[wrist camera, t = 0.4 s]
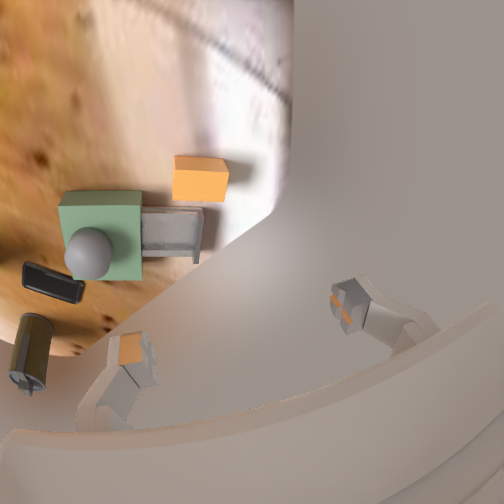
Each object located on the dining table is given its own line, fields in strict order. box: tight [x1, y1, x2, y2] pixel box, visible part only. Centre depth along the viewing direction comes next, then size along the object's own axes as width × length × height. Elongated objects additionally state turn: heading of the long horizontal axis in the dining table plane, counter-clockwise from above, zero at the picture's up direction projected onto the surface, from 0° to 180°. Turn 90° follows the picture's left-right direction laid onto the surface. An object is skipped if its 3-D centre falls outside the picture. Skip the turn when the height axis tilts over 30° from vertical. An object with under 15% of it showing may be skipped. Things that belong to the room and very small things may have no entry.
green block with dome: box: [58, 191, 143, 280], centre depth 44 cm, size 16×14×9 cm
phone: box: [22, 262, 83, 304], centre depth 51 cm, size 8×1×15 cm
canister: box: [8, 313, 54, 396], centre depth 50 cm, size 11×10×20 cm
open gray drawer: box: [141, 206, 204, 264], centre depth 50 cm, size 10×11×4 cm
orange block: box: [172, 156, 229, 202], centre depth 43 cm, size 5×8×6 cm, turn 78°
